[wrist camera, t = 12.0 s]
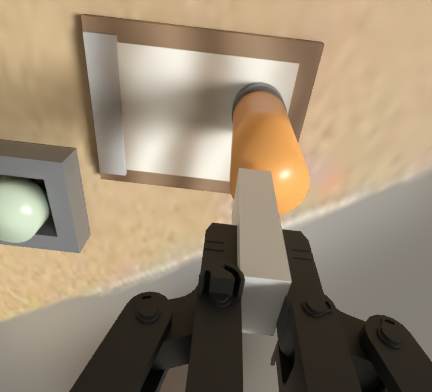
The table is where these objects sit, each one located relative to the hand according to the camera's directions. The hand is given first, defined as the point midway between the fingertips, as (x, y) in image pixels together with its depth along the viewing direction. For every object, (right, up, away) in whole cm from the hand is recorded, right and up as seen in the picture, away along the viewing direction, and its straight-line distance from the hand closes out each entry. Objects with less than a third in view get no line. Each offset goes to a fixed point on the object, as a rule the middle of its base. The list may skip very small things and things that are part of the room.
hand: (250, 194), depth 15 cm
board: (-3, +7, +13) cm, 15 cm away
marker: (+2, +7, +11) cm, 13 cm away
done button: (-21, -1, +16) cm, 27 cm away
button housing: (-21, +1, +18) cm, 28 cm away
